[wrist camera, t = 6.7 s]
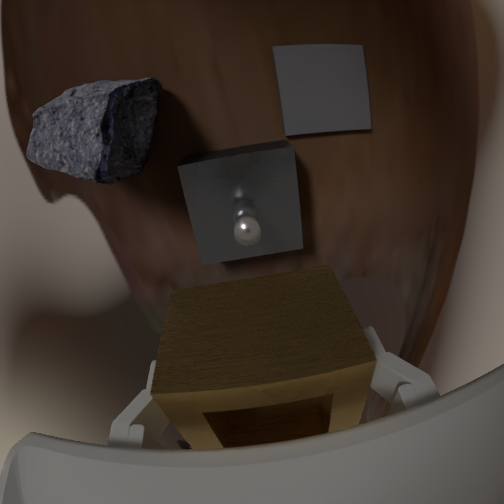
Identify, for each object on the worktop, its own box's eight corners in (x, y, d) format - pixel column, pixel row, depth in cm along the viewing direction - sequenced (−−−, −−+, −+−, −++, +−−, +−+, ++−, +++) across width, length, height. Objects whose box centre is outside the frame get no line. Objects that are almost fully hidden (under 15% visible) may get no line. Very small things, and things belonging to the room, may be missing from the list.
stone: (186, 95, 26) (157, 190, 28) (106, 86, 26) (80, 172, 28) (143, 39, 14) (94, 185, 16) (43, 45, 14) (3, 164, 16)
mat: (271, 47, 23) (272, 46, 22) (360, 45, 23) (362, 45, 22) (284, 135, 27) (286, 135, 27) (369, 128, 27) (371, 128, 27)
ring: (171, 290, 12) (149, 394, 7) (329, 264, 12) (376, 360, 7) (209, 382, 15) (208, 465, 11) (327, 363, 15) (351, 443, 10)
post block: (184, 157, 28) (165, 182, 20) (285, 140, 27) (308, 158, 20) (205, 245, 33) (198, 296, 25) (295, 230, 32) (315, 277, 25)
